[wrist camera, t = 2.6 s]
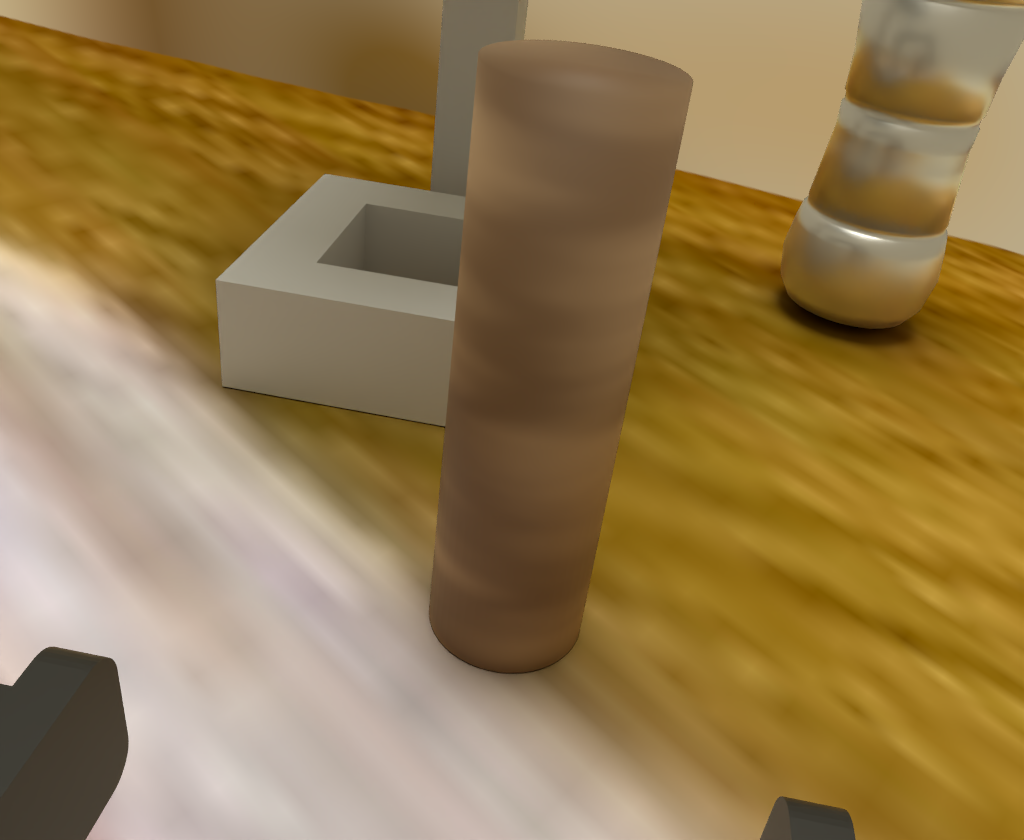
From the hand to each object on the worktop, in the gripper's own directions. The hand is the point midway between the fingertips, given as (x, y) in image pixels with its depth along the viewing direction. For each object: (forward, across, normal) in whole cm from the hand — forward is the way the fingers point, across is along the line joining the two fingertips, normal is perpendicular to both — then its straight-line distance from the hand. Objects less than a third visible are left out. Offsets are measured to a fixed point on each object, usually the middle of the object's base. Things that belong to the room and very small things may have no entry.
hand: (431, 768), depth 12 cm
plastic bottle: (+34, -12, +8) cm, 37 cm away
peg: (+11, 0, +8) cm, 14 cm away
